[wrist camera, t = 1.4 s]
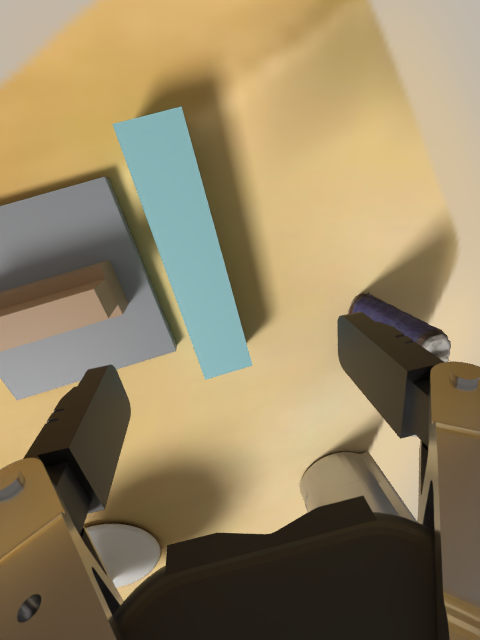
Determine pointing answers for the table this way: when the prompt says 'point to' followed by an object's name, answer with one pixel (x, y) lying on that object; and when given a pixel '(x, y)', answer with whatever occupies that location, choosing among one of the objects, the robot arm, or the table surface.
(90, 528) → the chalice
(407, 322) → the flask
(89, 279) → the fulcrum
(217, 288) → the batten
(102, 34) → the table surface
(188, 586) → the robot arm
